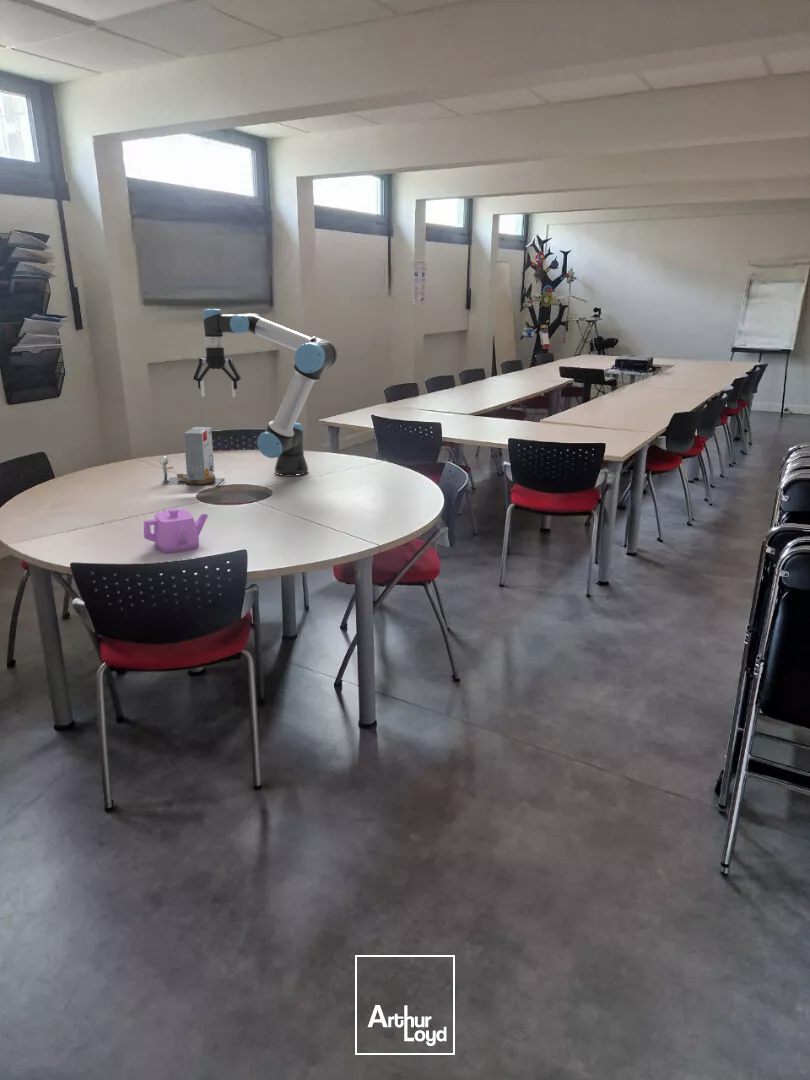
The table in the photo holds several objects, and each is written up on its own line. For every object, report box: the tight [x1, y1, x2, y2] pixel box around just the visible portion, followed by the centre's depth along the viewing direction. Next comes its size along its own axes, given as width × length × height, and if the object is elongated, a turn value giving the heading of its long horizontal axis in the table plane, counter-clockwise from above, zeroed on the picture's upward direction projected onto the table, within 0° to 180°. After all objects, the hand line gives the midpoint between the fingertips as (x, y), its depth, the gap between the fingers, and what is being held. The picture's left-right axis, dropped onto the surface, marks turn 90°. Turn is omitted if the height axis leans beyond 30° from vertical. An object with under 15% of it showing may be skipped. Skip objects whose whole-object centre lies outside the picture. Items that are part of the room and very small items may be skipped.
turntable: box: [176, 472, 216, 484], centre depth 302 cm, size 16×12×3 cm
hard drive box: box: [183, 426, 215, 480], centre depth 298 cm, size 16×8×20 cm, turn 0°
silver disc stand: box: [159, 456, 174, 484], centre depth 299 cm, size 5×2×11 cm, turn 108°
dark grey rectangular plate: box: [161, 476, 225, 489], centre depth 302 cm, size 24×12×2 cm, turn 89°
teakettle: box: [143, 508, 209, 555], centre depth 230 cm, size 17×17×12 cm
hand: (218, 396), depth 309 cm, fingers open, 13 cm apart
